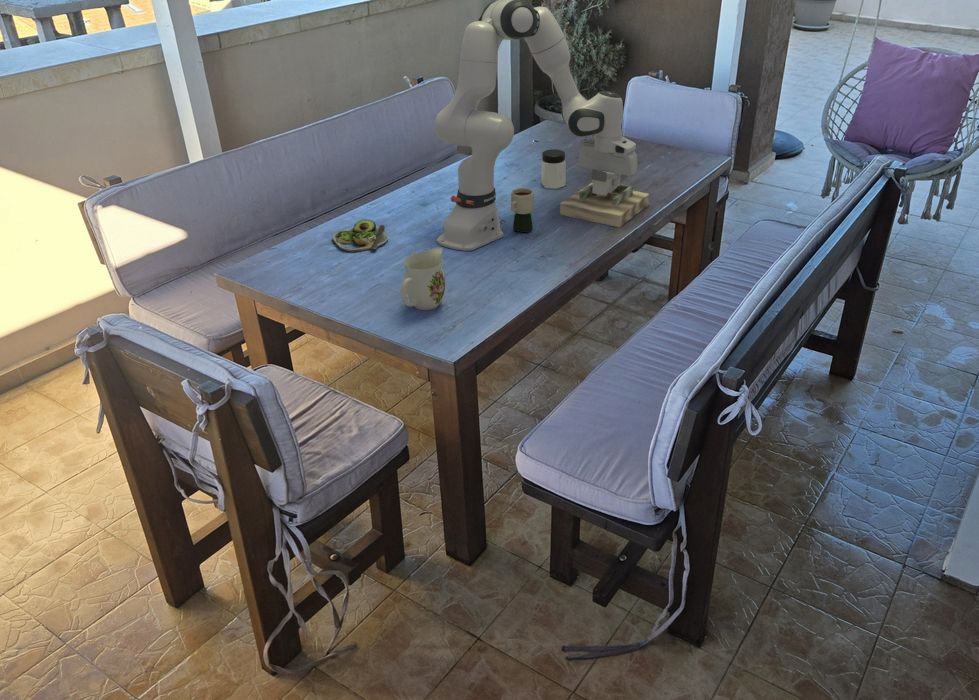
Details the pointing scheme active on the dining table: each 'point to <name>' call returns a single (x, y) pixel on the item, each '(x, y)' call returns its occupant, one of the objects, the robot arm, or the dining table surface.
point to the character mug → (522, 208)
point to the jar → (553, 169)
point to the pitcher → (424, 280)
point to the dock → (605, 205)
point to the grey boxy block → (604, 183)
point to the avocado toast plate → (361, 236)
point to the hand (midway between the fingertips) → (606, 183)
